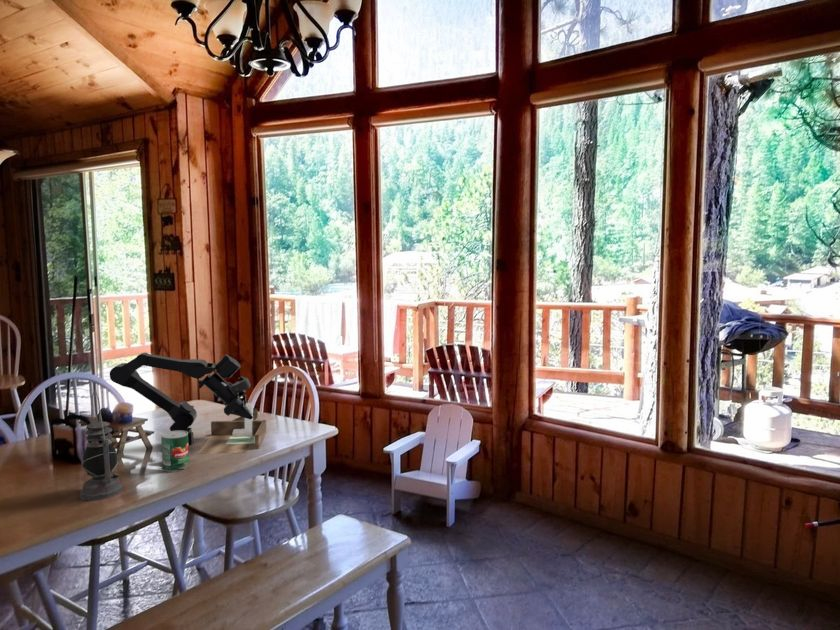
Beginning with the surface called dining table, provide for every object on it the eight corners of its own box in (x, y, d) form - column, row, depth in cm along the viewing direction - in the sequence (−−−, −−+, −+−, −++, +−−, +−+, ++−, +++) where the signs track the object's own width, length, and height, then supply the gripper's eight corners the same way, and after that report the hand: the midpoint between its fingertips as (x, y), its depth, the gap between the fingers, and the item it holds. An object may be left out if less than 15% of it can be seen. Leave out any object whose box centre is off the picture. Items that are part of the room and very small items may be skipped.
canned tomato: (169, 462, 186) (168, 429, 184) (193, 462, 186) (192, 430, 184) (157, 471, 178) (156, 437, 177) (182, 472, 178) (181, 438, 176)
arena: (196, 456, 191) (196, 439, 190) (212, 436, 212) (211, 421, 211) (257, 455, 193) (256, 438, 193) (266, 435, 214) (266, 420, 213)
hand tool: (235, 431, 219) (234, 420, 219) (226, 430, 220) (226, 418, 220) (263, 418, 237) (263, 407, 236) (254, 417, 238) (254, 406, 238)
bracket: (253, 432, 208) (252, 402, 206) (252, 436, 203) (251, 406, 202) (233, 433, 206) (233, 403, 205) (232, 437, 202) (231, 406, 201)
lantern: (129, 493, 162) (125, 389, 159) (88, 504, 154) (83, 396, 151) (113, 481, 170) (108, 382, 167) (73, 491, 162) (67, 389, 159)
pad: (225, 444, 201) (225, 443, 201) (230, 437, 209) (230, 436, 209) (254, 443, 202) (254, 443, 202) (258, 436, 210) (258, 436, 210)
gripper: (233, 376, 193) (267, 407, 196) (239, 366, 211) (270, 394, 214) (209, 400, 192) (243, 430, 195) (217, 387, 210) (249, 415, 214)
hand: (252, 416), depth 205 cm, fingers closed on bracket, 4 cm apart
